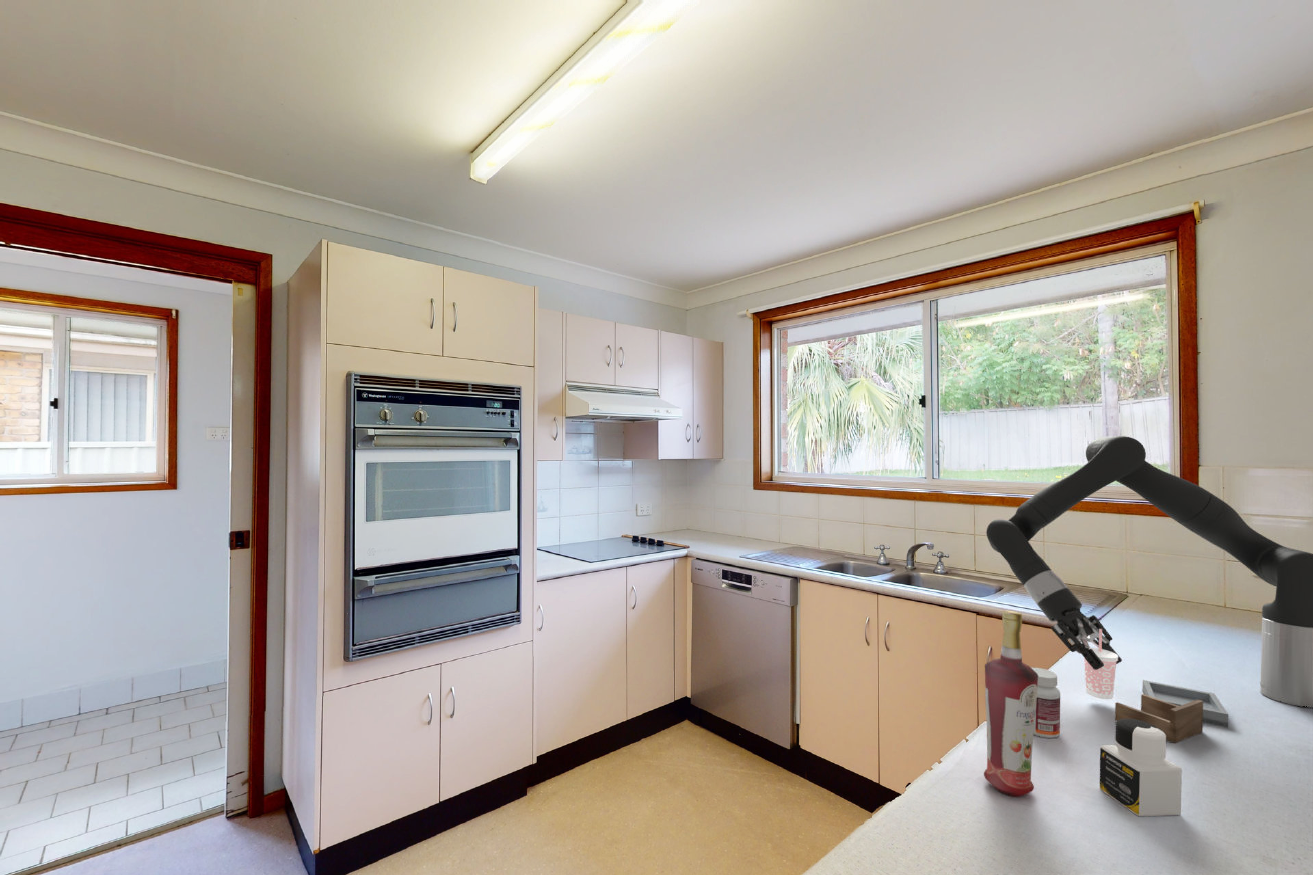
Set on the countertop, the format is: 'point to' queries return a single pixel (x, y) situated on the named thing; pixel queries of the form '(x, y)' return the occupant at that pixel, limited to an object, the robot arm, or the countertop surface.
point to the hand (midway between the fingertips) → (1108, 665)
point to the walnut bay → (1166, 716)
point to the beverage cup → (1101, 673)
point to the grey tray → (1188, 700)
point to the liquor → (1010, 713)
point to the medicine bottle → (1140, 770)
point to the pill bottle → (1047, 705)
